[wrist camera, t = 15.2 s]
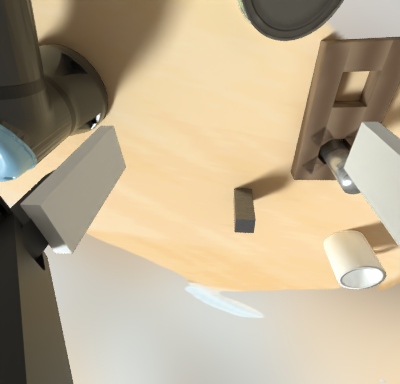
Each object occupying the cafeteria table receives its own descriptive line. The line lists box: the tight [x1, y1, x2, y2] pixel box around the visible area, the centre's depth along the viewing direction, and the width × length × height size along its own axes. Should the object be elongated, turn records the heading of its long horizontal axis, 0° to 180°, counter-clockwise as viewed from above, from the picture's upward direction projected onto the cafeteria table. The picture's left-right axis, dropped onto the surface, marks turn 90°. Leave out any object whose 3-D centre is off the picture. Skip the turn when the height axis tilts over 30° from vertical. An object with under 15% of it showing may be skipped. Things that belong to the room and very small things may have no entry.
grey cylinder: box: [319, 139, 361, 194], centre depth 41 cm, size 4×4×13 cm
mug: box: [324, 230, 386, 289], centre depth 59 cm, size 14×10×11 cm
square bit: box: [234, 189, 255, 233], centre depth 52 cm, size 4×4×10 cm
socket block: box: [291, 37, 400, 180], centre depth 41 cm, size 12×24×3 cm, turn 3°
